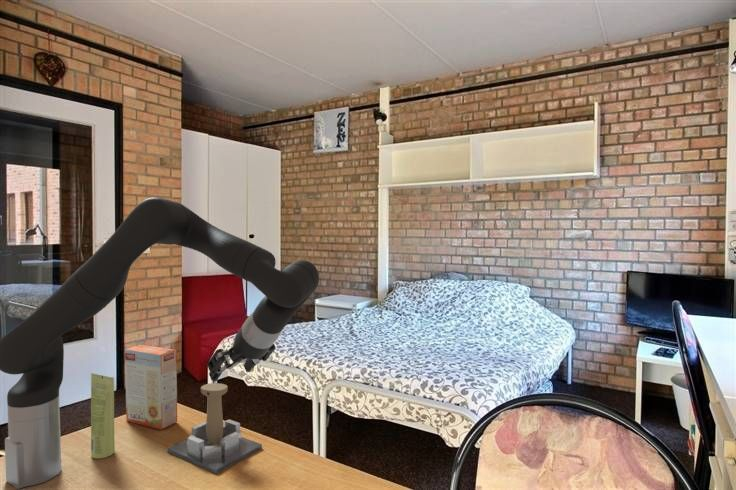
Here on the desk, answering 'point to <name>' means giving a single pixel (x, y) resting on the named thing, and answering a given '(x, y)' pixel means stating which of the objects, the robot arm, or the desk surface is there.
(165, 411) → the cracker box
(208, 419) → the handle
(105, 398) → the tube
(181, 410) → the desk surface
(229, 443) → the octagonal fixture plate
